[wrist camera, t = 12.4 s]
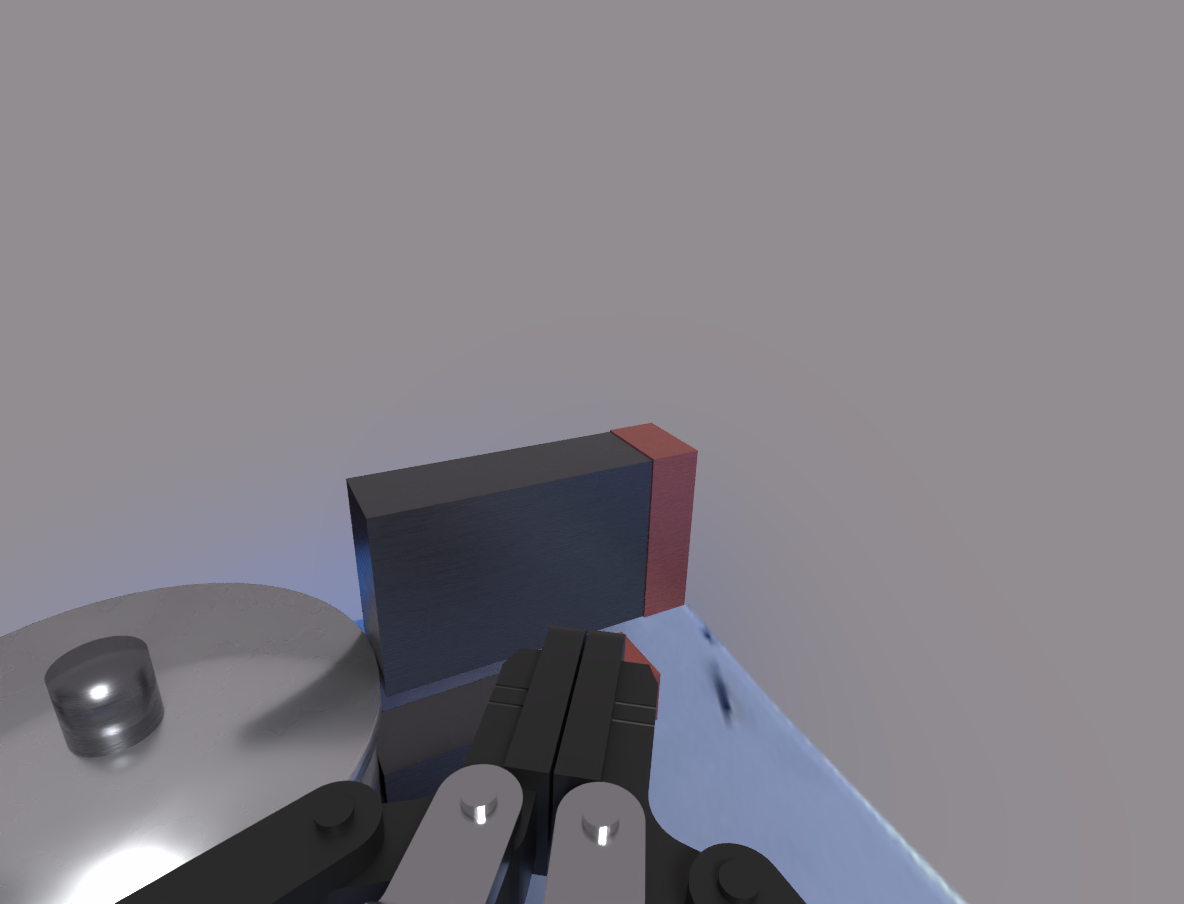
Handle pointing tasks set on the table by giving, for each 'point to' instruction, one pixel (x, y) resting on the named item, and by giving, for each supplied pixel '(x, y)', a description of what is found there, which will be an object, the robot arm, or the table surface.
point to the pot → (436, 737)
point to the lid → (314, 655)
